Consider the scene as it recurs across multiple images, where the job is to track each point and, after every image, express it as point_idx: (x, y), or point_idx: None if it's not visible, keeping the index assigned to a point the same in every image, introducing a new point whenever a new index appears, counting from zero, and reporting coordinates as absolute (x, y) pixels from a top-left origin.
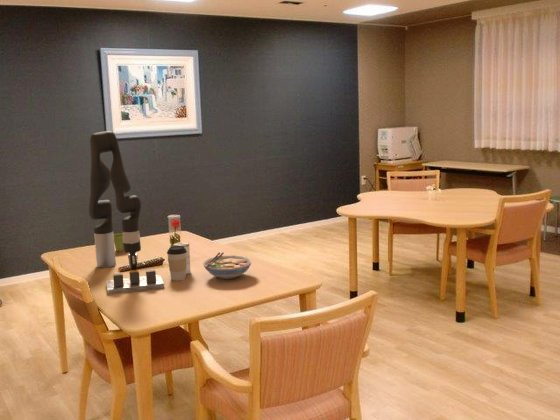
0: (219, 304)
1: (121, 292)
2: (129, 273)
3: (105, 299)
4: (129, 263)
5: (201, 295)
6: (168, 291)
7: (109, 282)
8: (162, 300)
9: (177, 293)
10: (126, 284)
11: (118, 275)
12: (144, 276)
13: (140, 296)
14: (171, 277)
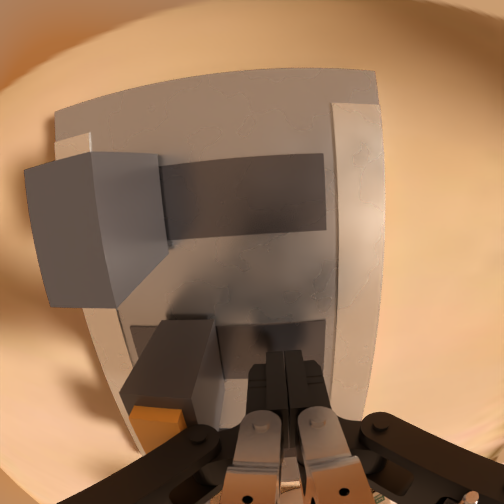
0: (21, 480)
1: None
2: (187, 380)
3: (5, 125)
4: (221, 502)
5: (73, 492)
6: (105, 454)
7: (305, 98)
8: (6, 401)
9: (83, 464)
10: (171, 281)
11: (37, 245)
12: (360, 413)
13: (29, 338)
14: (300, 496)
